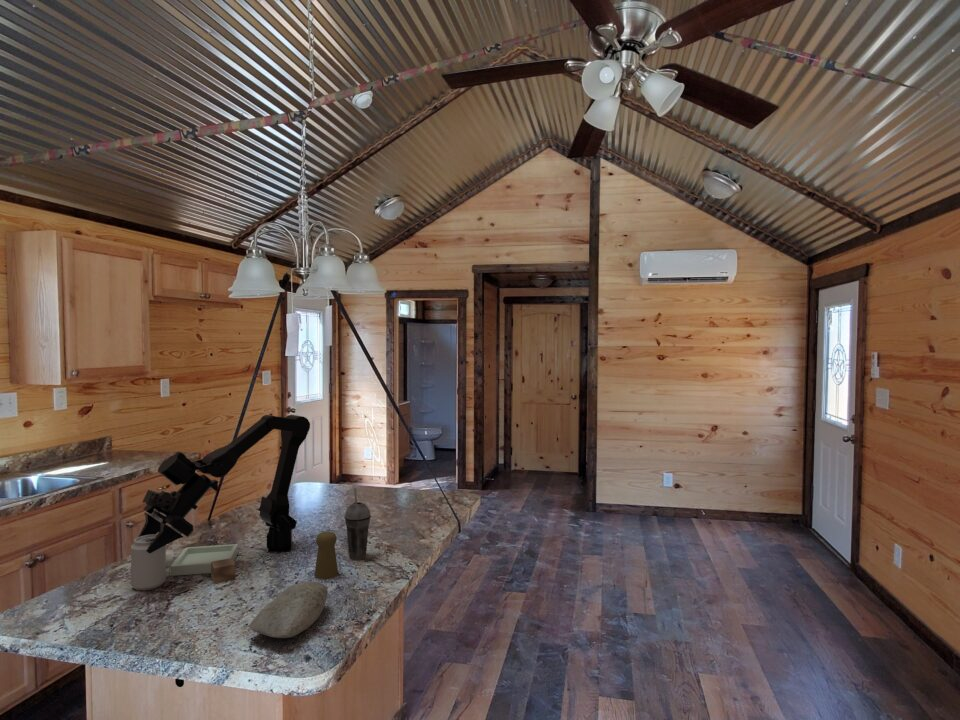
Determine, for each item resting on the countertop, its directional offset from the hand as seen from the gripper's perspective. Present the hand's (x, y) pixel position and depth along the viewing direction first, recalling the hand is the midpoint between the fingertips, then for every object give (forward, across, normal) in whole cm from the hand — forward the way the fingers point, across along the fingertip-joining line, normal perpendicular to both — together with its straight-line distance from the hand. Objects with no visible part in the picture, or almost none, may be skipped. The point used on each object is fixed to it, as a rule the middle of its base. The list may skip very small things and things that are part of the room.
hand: (142, 548), depth 140 cm
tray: (-5, -4, +19) cm, 20 cm away
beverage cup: (-27, +23, +41) cm, 54 cm away
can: (+6, 0, +8) cm, 10 cm away
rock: (-4, +45, +18) cm, 48 cm away
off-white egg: (+1, -11, +13) cm, 17 cm away
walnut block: (-4, +9, +18) cm, 21 cm away
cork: (-18, +27, +32) cm, 45 cm away
